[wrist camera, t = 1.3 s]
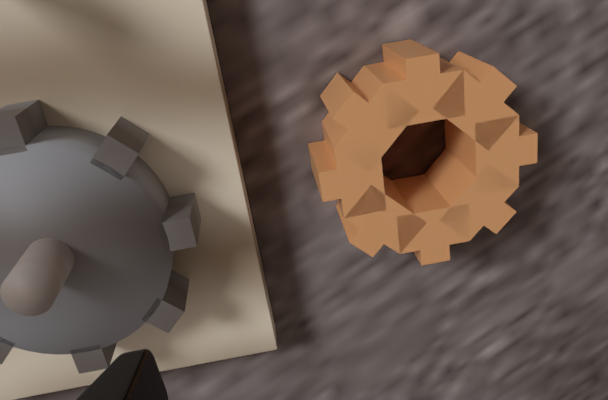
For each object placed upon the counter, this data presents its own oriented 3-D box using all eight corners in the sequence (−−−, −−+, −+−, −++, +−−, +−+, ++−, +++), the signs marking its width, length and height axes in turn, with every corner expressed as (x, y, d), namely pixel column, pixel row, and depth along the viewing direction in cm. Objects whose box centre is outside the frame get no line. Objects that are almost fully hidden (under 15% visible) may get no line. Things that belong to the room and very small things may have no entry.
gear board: (275, 326, 23) (284, 428, 18) (-18, 381, 23) (-91, 501, 18) (125, -381, 14) (61, -562, 9) (-360, -309, 14) (-700, -458, 9)
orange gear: (499, 208, 22) (535, 244, 19) (323, 240, 22) (335, 281, 19) (497, 24, 19) (539, 35, 17) (294, 59, 19) (303, 76, 16)
